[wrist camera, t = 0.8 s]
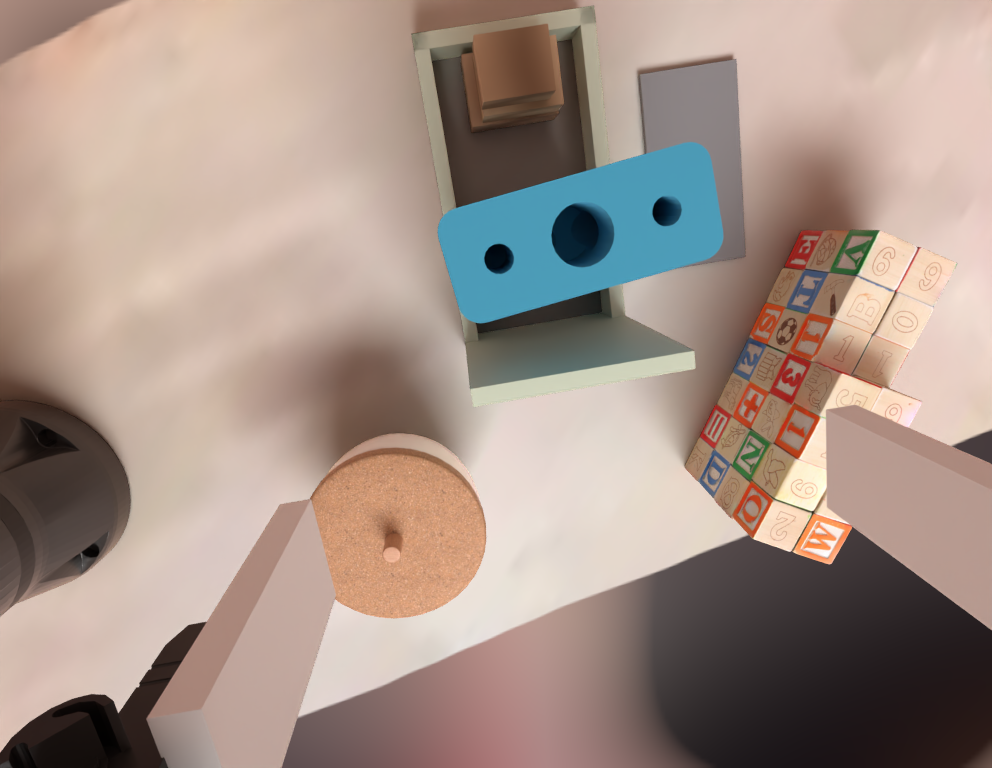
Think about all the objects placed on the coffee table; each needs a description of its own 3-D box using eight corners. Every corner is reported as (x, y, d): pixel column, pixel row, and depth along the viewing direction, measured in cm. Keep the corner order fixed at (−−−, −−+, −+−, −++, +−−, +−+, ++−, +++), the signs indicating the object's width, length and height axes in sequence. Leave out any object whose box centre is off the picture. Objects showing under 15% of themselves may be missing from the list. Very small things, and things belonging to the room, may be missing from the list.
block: (596, 176, 44) (707, 136, 25) (610, 243, 45) (726, 253, 26) (441, 220, 44) (431, 215, 25) (460, 286, 45) (464, 328, 26)
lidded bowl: (477, 553, 51) (483, 638, 41) (329, 551, 50) (295, 638, 40) (484, 414, 48) (493, 467, 38) (326, 409, 47) (289, 462, 37)
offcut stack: (471, 132, 43) (475, 113, 36) (460, 64, 42) (462, 29, 34) (553, 119, 43) (573, 97, 36) (544, 51, 42) (564, 14, 34)
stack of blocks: (798, 227, 46) (917, 227, 34) (865, 256, 47) (1004, 265, 35) (682, 468, 51) (752, 541, 39) (745, 490, 52) (833, 568, 40)
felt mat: (655, 271, 46) (657, 271, 46) (638, 75, 43) (640, 74, 42) (742, 256, 46) (745, 256, 46) (733, 60, 43) (736, 59, 42)
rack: (466, 348, 47) (473, 407, 31) (414, 47, 41) (390, -62, 26) (615, 322, 47) (695, 368, 32) (584, 21, 41) (661, -103, 26)
